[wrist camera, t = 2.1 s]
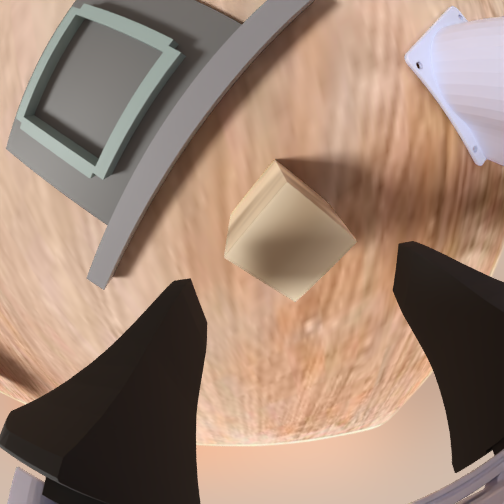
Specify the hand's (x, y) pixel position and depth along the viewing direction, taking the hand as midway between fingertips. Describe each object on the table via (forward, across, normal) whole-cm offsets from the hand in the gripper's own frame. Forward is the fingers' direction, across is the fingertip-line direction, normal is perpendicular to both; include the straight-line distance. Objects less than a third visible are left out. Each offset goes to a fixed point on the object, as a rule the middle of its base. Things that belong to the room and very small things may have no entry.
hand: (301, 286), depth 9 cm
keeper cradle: (+7, +9, -10) cm, 15 cm away
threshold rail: (+7, +5, -5) cm, 10 cm away
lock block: (+8, 0, 0) cm, 8 cm away
